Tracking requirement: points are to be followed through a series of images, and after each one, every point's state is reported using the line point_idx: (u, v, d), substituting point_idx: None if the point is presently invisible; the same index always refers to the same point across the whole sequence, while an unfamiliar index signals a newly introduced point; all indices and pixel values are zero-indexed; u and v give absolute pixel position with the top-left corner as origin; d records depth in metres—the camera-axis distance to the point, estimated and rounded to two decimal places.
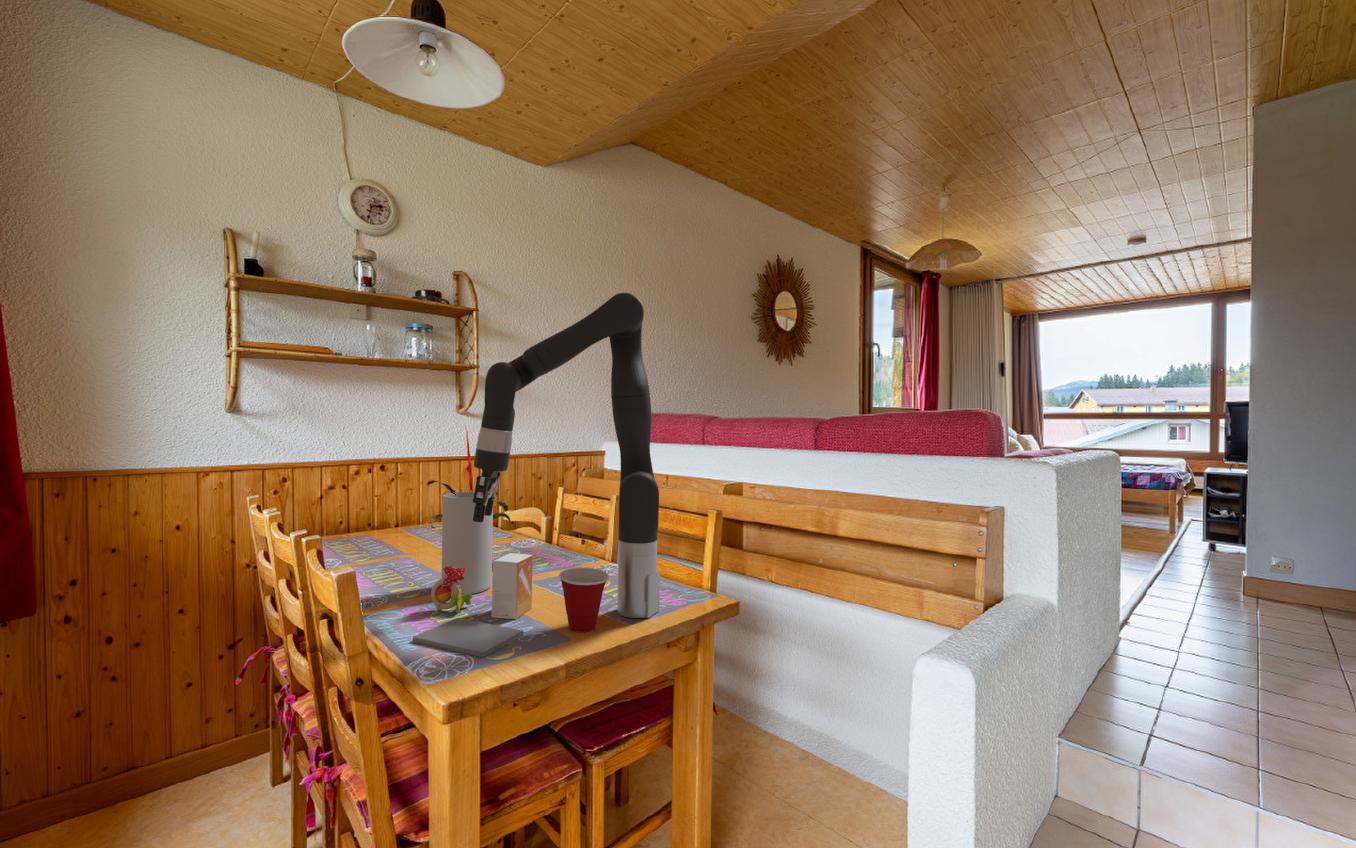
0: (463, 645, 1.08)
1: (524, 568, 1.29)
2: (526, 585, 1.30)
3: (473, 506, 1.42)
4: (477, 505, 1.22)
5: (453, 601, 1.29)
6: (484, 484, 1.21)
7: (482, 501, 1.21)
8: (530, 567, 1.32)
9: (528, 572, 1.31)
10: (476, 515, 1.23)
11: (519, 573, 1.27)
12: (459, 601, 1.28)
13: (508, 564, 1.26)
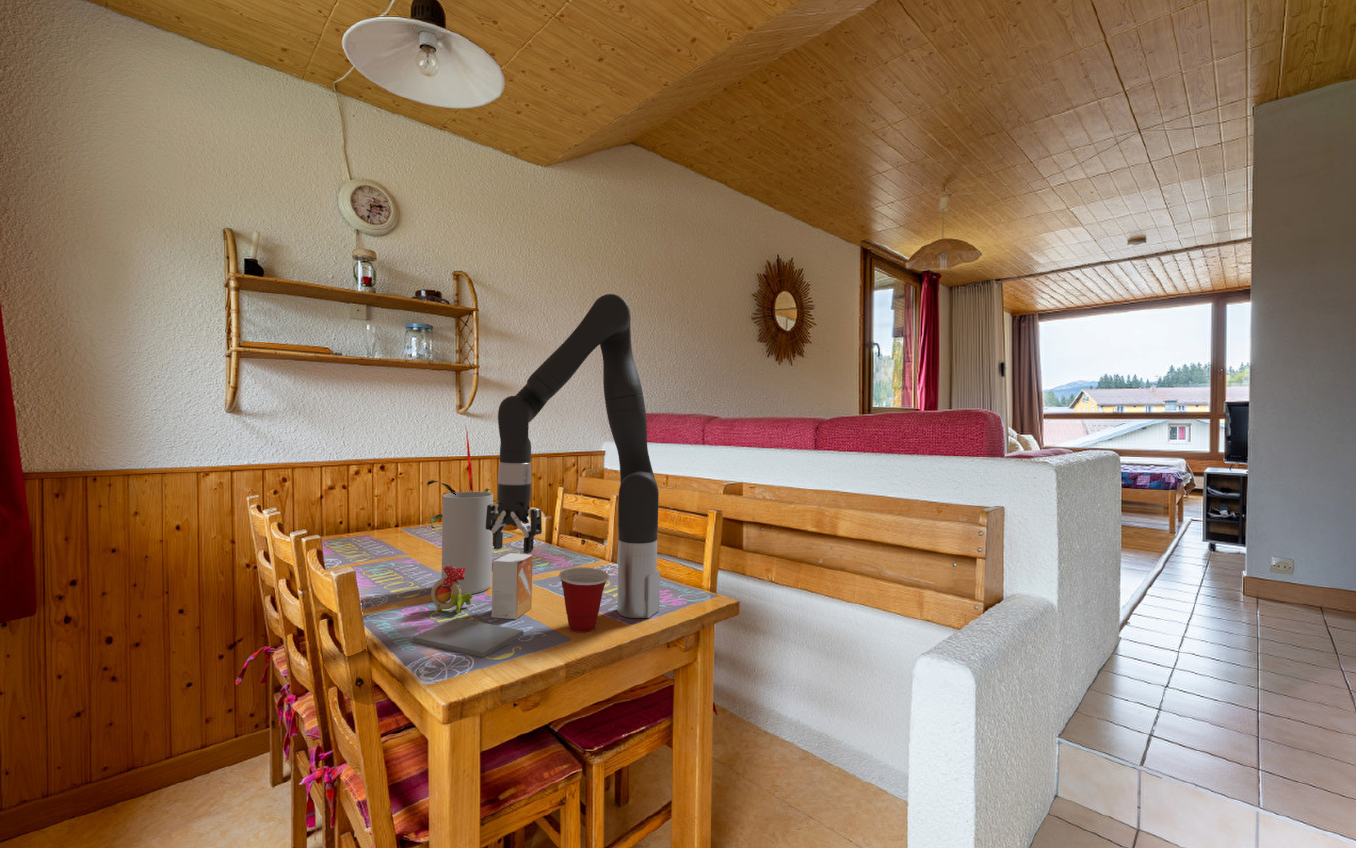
0: (463, 645, 1.08)
1: (524, 568, 1.29)
2: (526, 585, 1.30)
3: (473, 506, 1.42)
4: (531, 537, 1.27)
5: (453, 601, 1.29)
6: (539, 515, 1.28)
7: (540, 531, 1.28)
8: (530, 567, 1.32)
9: (528, 572, 1.31)
10: (530, 547, 1.27)
11: (519, 573, 1.27)
12: (459, 601, 1.28)
13: (508, 564, 1.26)
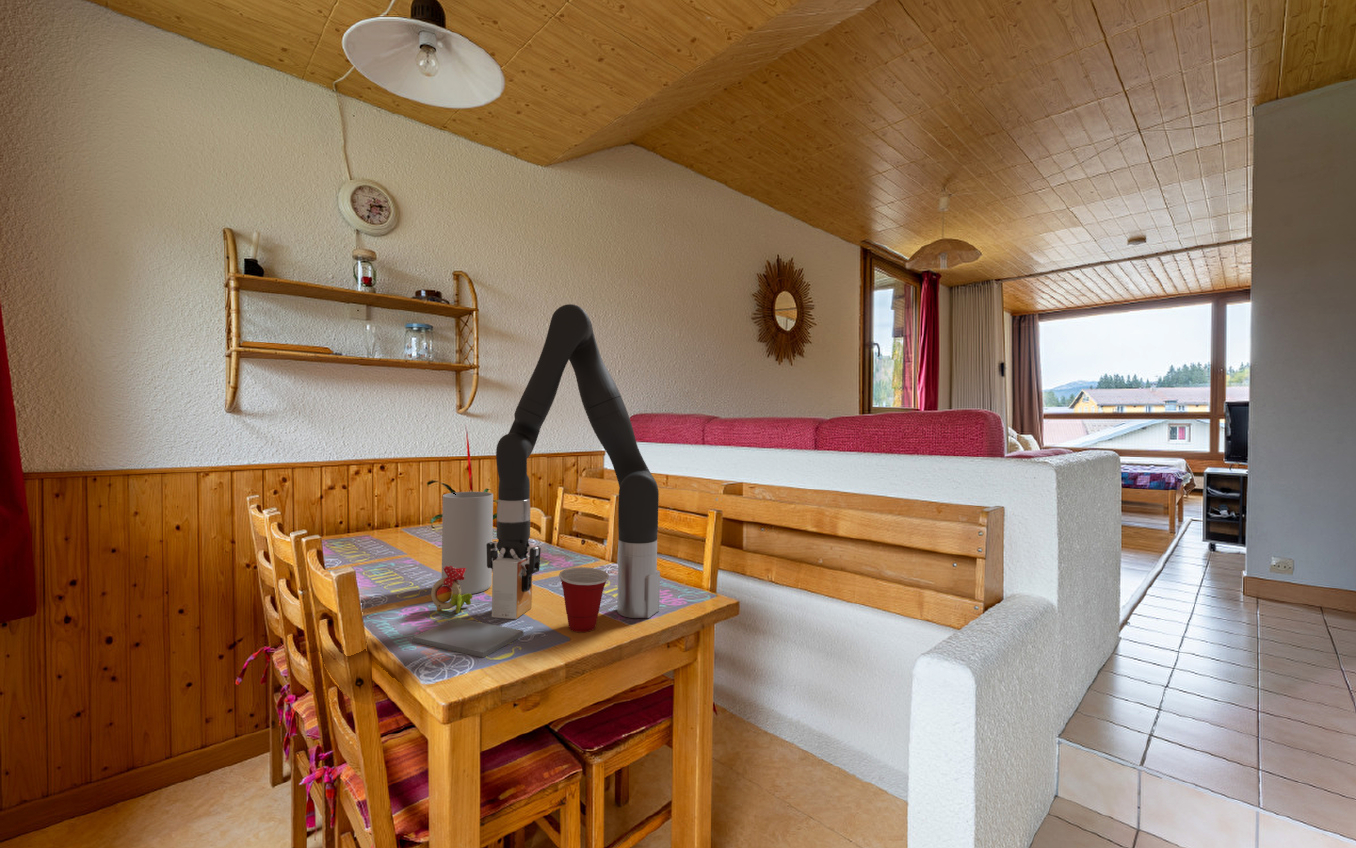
0: (463, 645, 1.08)
1: None
2: None
3: (473, 506, 1.42)
4: (528, 575, 1.28)
5: (453, 601, 1.29)
6: (538, 554, 1.28)
7: (538, 570, 1.28)
8: None
9: None
10: (528, 585, 1.28)
11: (520, 572, 1.27)
12: (459, 601, 1.28)
13: (508, 564, 1.26)
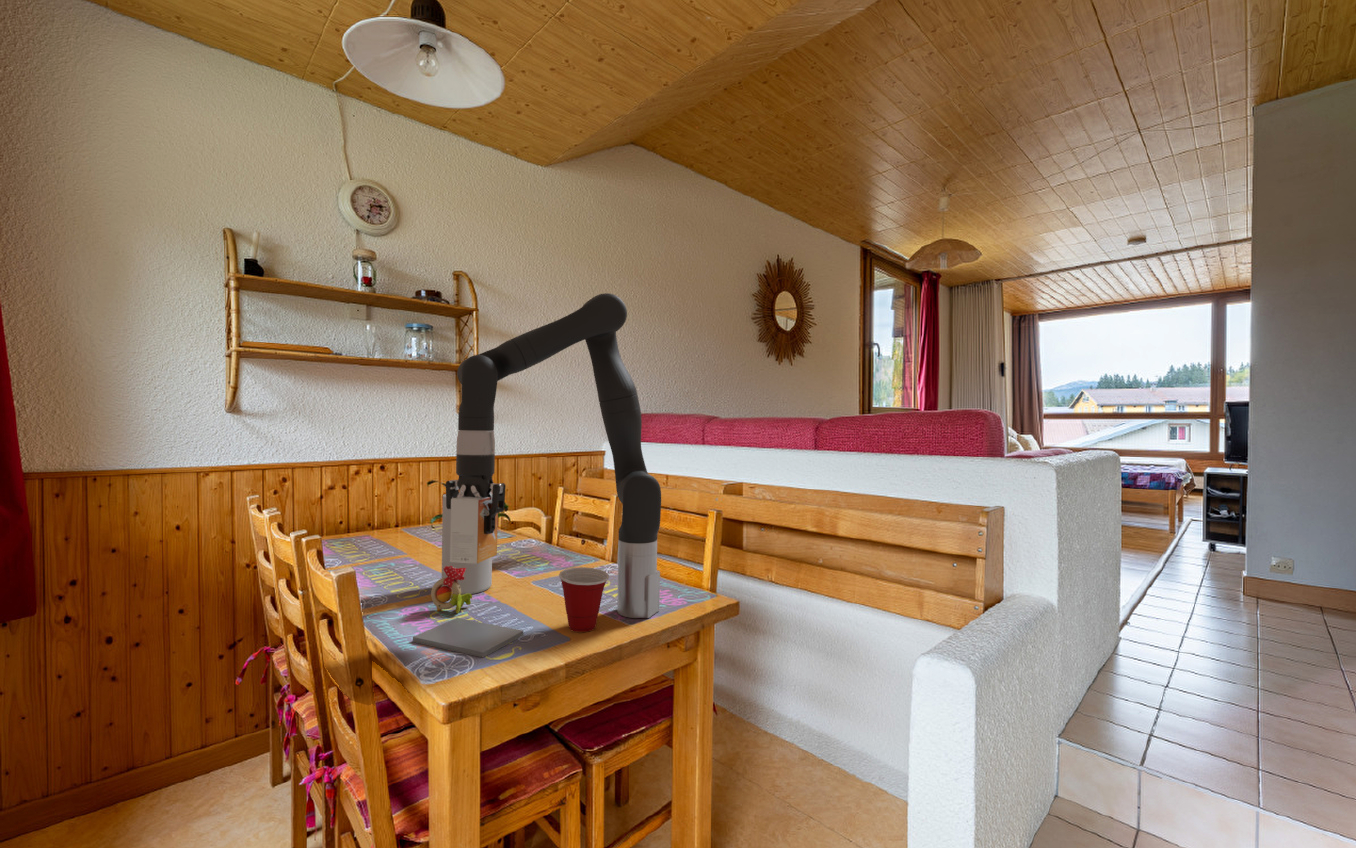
0: (463, 645, 1.08)
1: None
2: None
3: None
4: (492, 515, 1.13)
5: (453, 601, 1.29)
6: (503, 491, 1.13)
7: (502, 509, 1.14)
8: None
9: None
10: (491, 526, 1.13)
11: (481, 512, 1.12)
12: (459, 601, 1.28)
13: (468, 501, 1.11)
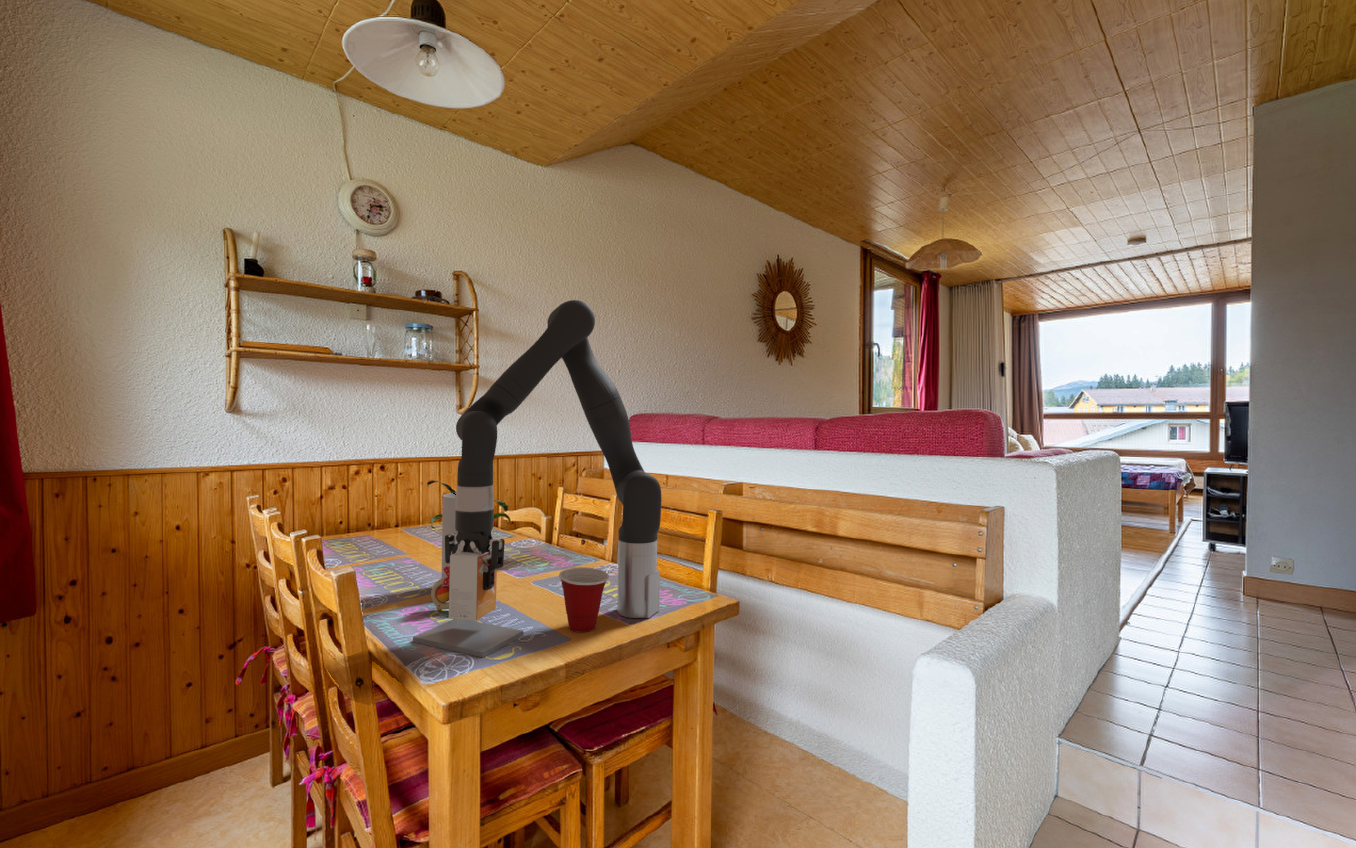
0: (463, 645, 1.08)
1: None
2: None
3: None
4: (491, 572, 1.13)
5: None
6: (502, 547, 1.13)
7: (501, 565, 1.13)
8: None
9: None
10: (490, 582, 1.13)
11: (480, 568, 1.12)
12: None
13: (467, 558, 1.11)
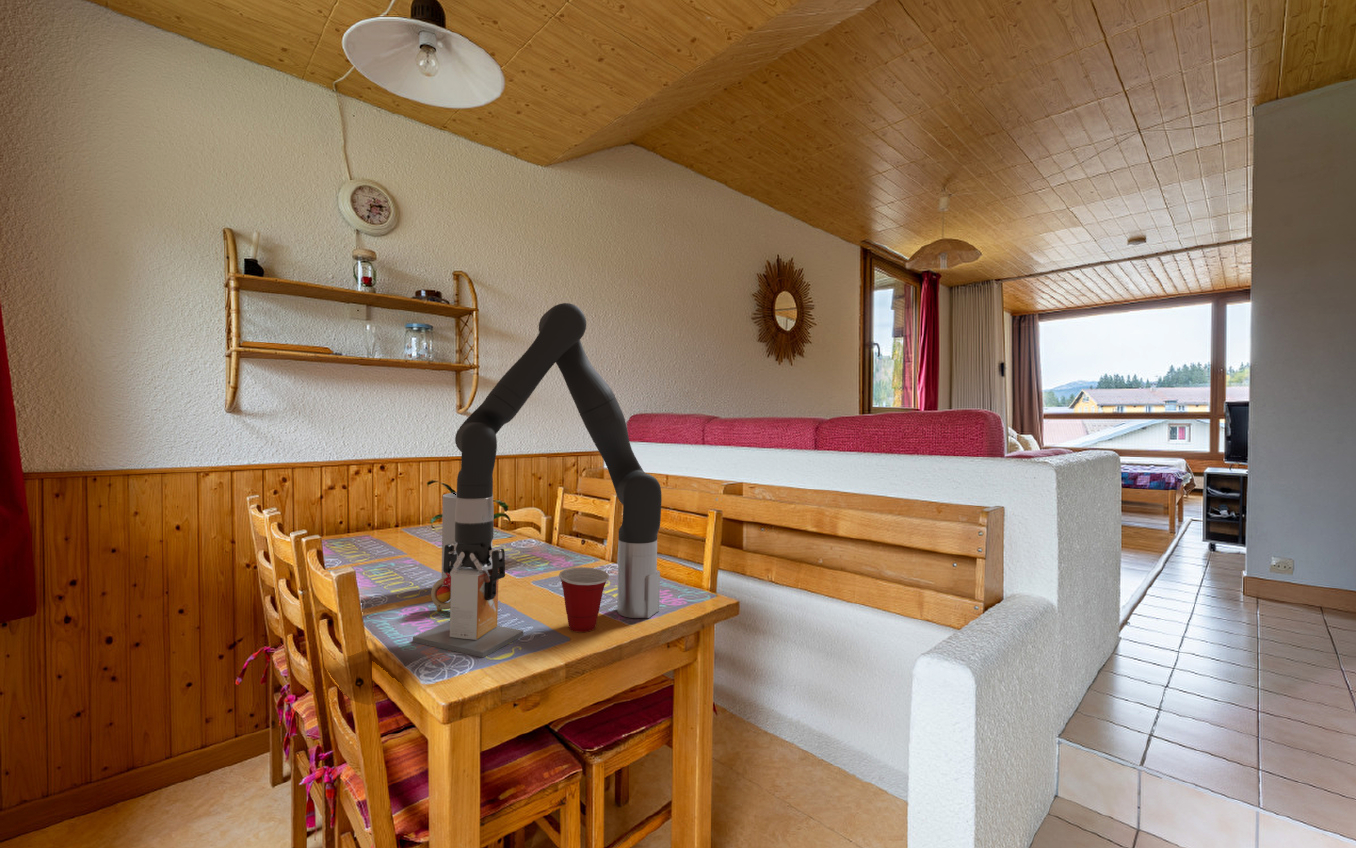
0: (463, 645, 1.08)
1: None
2: (490, 601, 1.16)
3: None
4: (492, 582, 1.13)
5: None
6: (502, 557, 1.13)
7: (503, 575, 1.13)
8: None
9: None
10: (492, 593, 1.13)
11: (481, 587, 1.12)
12: None
13: (468, 577, 1.11)
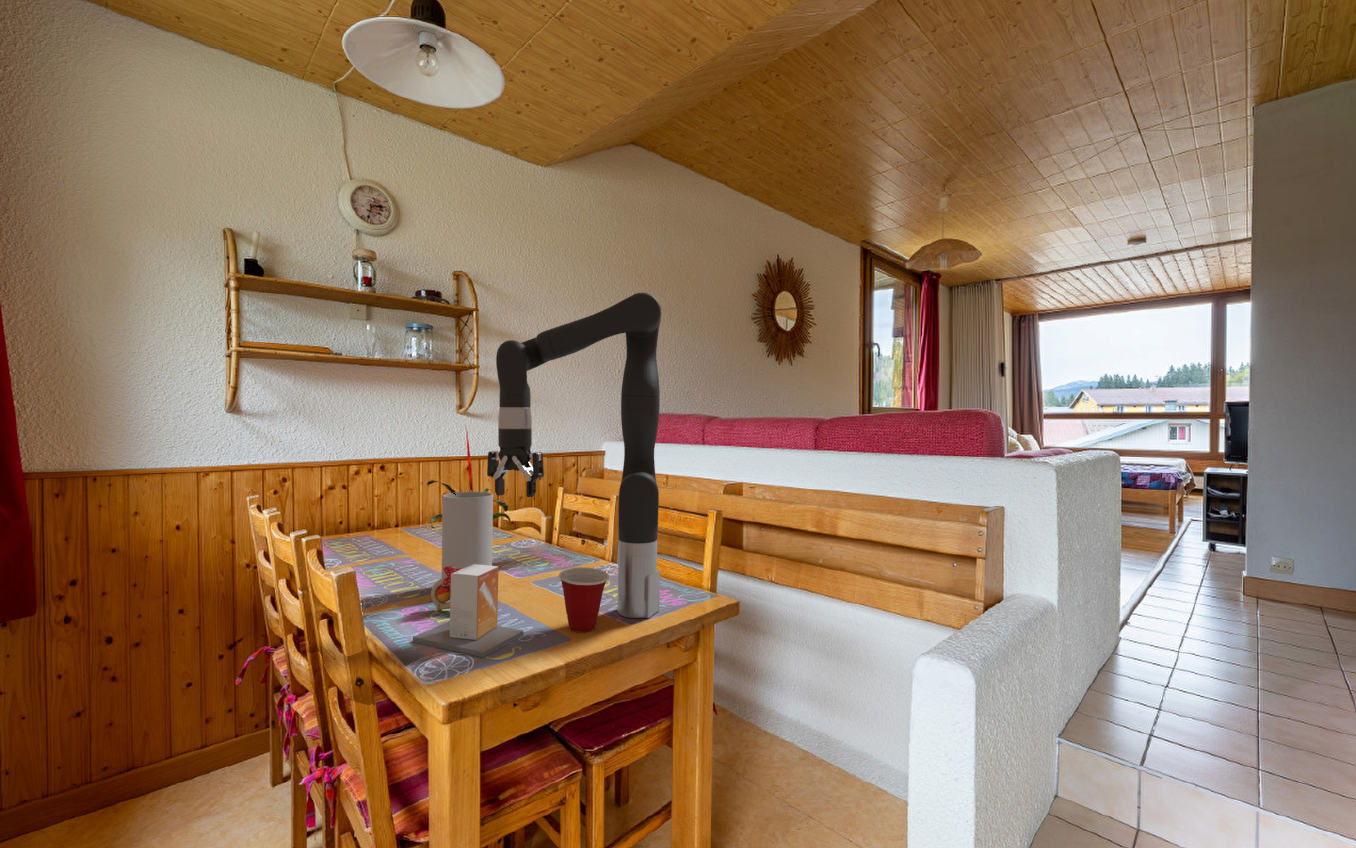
0: (463, 645, 1.08)
1: (487, 582, 1.14)
2: (490, 601, 1.16)
3: (473, 506, 1.42)
4: (533, 481, 1.28)
5: None
6: (541, 459, 1.28)
7: (542, 475, 1.29)
8: (495, 580, 1.17)
9: (493, 586, 1.16)
10: (533, 490, 1.28)
11: (481, 587, 1.12)
12: None
13: (468, 577, 1.11)
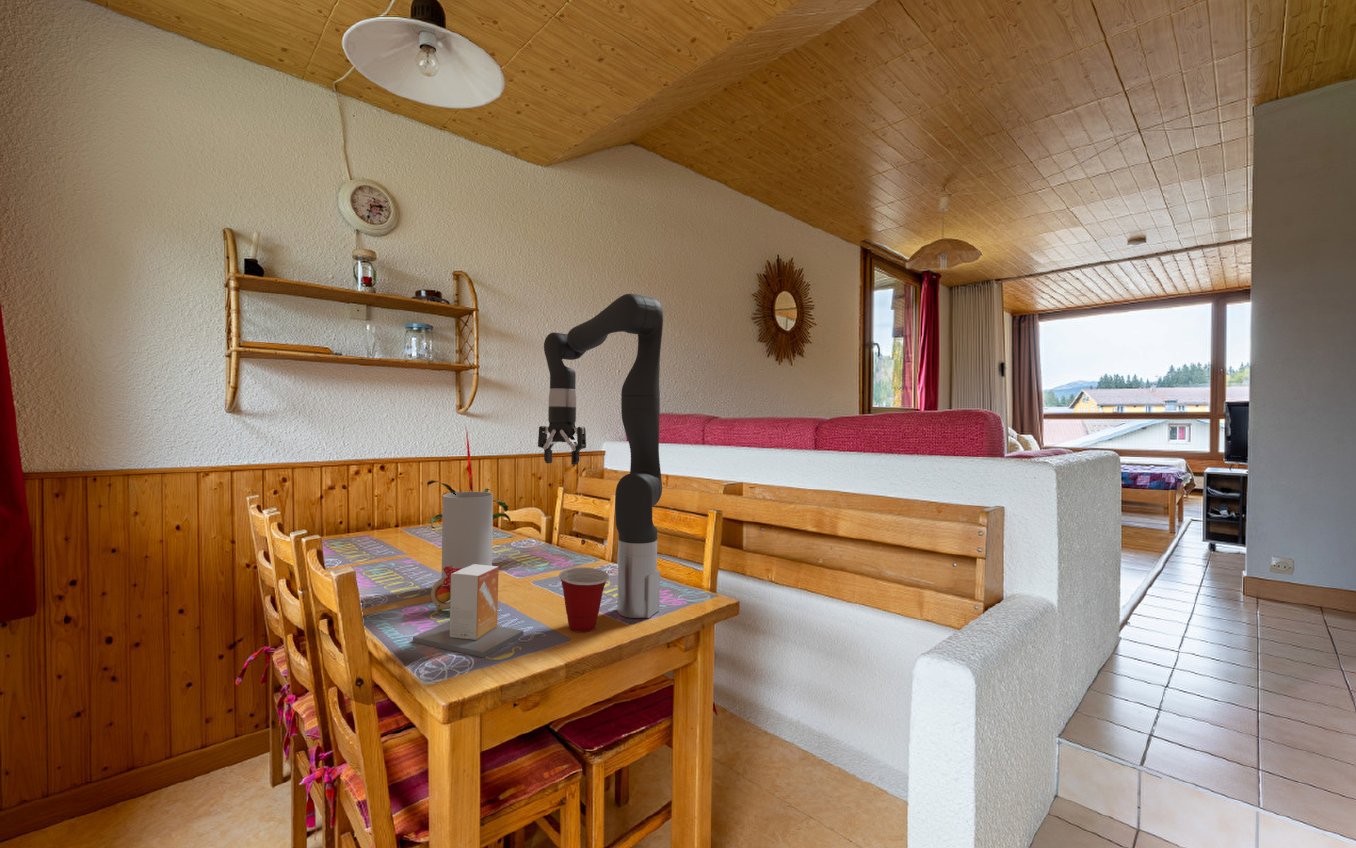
0: (463, 645, 1.08)
1: (487, 582, 1.14)
2: (490, 601, 1.16)
3: (473, 506, 1.42)
4: (577, 451, 1.52)
5: None
6: (584, 432, 1.52)
7: (585, 446, 1.52)
8: (495, 580, 1.17)
9: (493, 586, 1.16)
10: (577, 459, 1.52)
11: (481, 587, 1.12)
12: None
13: (468, 577, 1.11)
